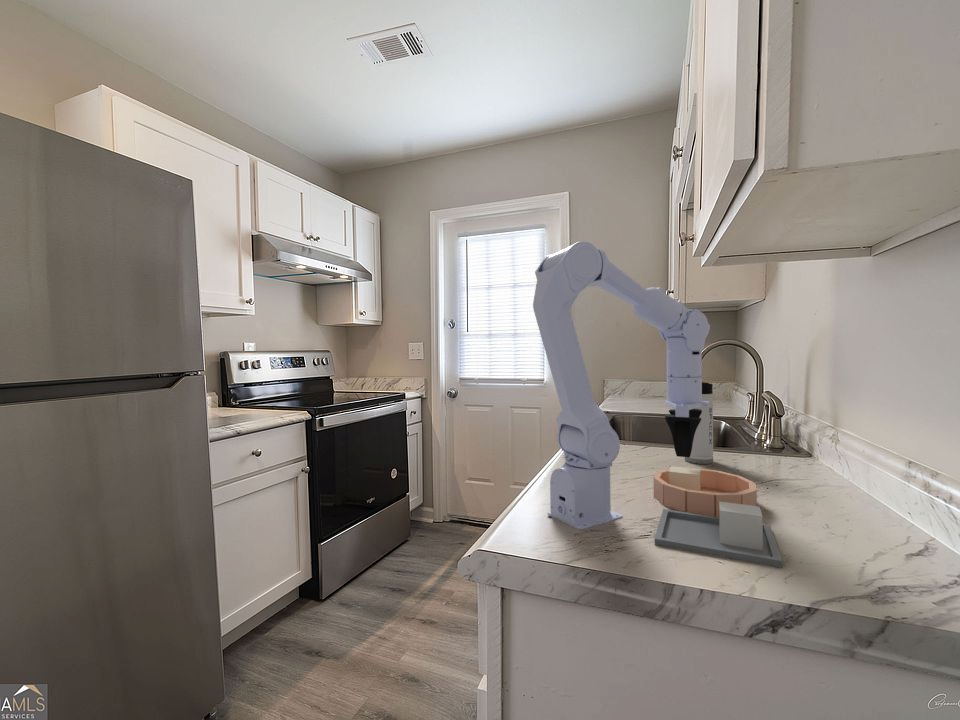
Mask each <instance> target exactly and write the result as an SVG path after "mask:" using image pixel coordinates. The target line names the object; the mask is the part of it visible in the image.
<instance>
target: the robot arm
mask: <svg viewBox="0 0 960 720" xmlns="http://www.w3.org/2000/svg"><path fill="white" fill-rule="evenodd" d="M534 274H535V277H536V285H535V289H534V290H535V291H534V296H533V301H532V308H533V313H534V316H535V321H536V323H537V326H538V329H539V330H538V331H539V333H540V337H541V340H542V344H543V348H544V351H545V355H546V358H547V362H548V365H549V369H550V372H551V377H552V379H553V382H554V386H555V389H556V393H557V398H558V401H559V404H560V407H561V411H560V412H559V414H558V415H557V416H556V422H557V428H558V429H557V439H556V440H557V444H558V446H559V448H560V449H561V450H562V452H564V453H563V455H564V457H563V458H564V464H563V465H561V466H560V467H557V468H556V469H554V470H553V471H552V473H551V475H550V478H549V483H550V485H549V486H550V489H549V491H550V494H549V495H550V496H549V498H550V504H549V505H550V511H549V510H548V511H547V515H548V516H550V517H552V518H555V519H557V520H559V521H561V522H563V523H565V524H567V525H569V526H571V527H573V528H575V529H576V530H585V529H589V528H592V527H595V526H598V525H602V524H605V523H608V522H612V521H616V520H620V519H623V514H620V513H618V512H616V511H613V510H611V506H612V505H611V503H612V502H611V467H613V462H614V461H615V460H616V458H617V457H618V455H619V452H620V448H621V443H620V437H619V435H618V433H617V432H616V431H615V429H613V427H612V426H611V424H610V420H609V418H608V416H607V414H606V413H605V412H604V411H603V410H602V408H600V407H599V406H598V405H597V402H596V401H595V398H594V393H593V391H592V386H591V383H590V379H589V375H588V371H587V368H586V364H585V361H584V356H583V354H582V350H581V346H580V342H579V339H578V335H577V331H576V328H575V325H574V321H573V317H572V313H571V308H572V306H573V304H574V303H575V301H576V299H577V298H578V297H579V295H580V294H581V292H583V290H585V289H586V288H587V287H598V288H600V289H602V290H604V291H605V292H608V293H609V294H611V295H613V296H615V297H616V298H618V299H620V300H621V301H624V302H626V303H627V304H629V305H631V306H632V311H633V314H634V316H635V317H638V318H639V319H640V320H642V321H644V322H646V323H647V324H649V325H650V326H652V327H654V328H655V329H656V330H658V333H659V336H660V337H661V339H662V340H663V341H666V400H665V405H666V406H668V407H670V409H669V410H668V413H669V414H665V415H664V419H665V422H666V423H667V425H668V428H669V430H670V433H671V437H672V441H673V442H672V443H673V448H674V452H675V455H676V457H680V458H685V457H690V455H691V451H692V445H693V439H694V435H695V432H696V429H697V427H698V425H699V423H700V421H701V418H699V417H700V415H701V413H702V410H701V409H694V408H698V407H702V406H709V402H708V401H702V382H703V378H702V375H703V372H702V371H703V369H702V368H703V367H702V364H703V363H702V361H703V360H702V357H703V356H702V355H703V354H702V353H703V350H704V348H705V347H706V345H705V344H706V343H705V341H706V338H707V336H708V335H709V333H710V329H711V324H710V323H709V321H708V318H707V316H706V315H705V313H703V312H702V311H700V310H699V309H697V308H690V309H688V308H687V307H686V306H685V304H684V303H683V302H682V301H677V300H675V299H674V298H673V297H671V296H670V295H669V294H667V293H666V290H665V288H663V287H661V286H660V287H659V286H658V287H656V286H653V287H651V286H650V287H647V288H645V287H644V286H643V285H642V284H640V283H638V282H637V281H636V280H635V279H633V278H632V277H631V276H629V275H628V274H627V273H625V272H624V271H623V270H622V269H620V268H619V267H618V266H616V265H615V264H614V263H613V262H612V261H610V260H609V258H608V256H607V253H606V252H605V251H604V250H602V249H600V248H597V247H596V245H594V244H592V243H591V242H589V241H577V242H576V243H575V242H574V244H571V245H570V246H568V247H566V248H564V249H561V250H560V251H557V252H555V253H550V254H548V255H546V256H545V257H544V258H543V259H542V261H541V262H540V264H539V265H538V267H537V268H536V269H535V271H534ZM671 408H672V409H671Z"/></svg>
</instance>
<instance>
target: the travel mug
mask: <svg viewBox="0 0 960 720" xmlns="http://www.w3.org/2000/svg"><path fill="white" fill-rule="evenodd" d="M713 389H714V388H713V383H710V382H705V381H704V382H703V381H702V401H708V402H709V406H702V407H698V408H694V409H701V410H702V413H701V415H700V417H699V418H701V421H700V423H699V425H698V427H697V429H696V432H695V435H694V439H693V445H692V451H691V455H690V457H684V460H685V462H687V461H688V463H690V462H691V463H692V464H695V463H697V464H696V465H710V463H711V464H713V462H714V404H713V403H714V397H713V396H714V393H713ZM691 463H690V464H691Z"/></svg>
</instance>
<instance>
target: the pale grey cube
mask: <svg viewBox="0 0 960 720" xmlns="http://www.w3.org/2000/svg"><path fill="white" fill-rule="evenodd" d="M763 517H764V516H763V514H762V510H761V508H760V506H758V505H757V506H751V505H743V504H735V503H728V502H720V501H719V536H720V543H721V544H727V545H733V546H739V547H745V548H751V549H757V550H763V524H764V523H763V519H764V518H763Z"/></svg>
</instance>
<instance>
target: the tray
mask: <svg viewBox="0 0 960 720" xmlns="http://www.w3.org/2000/svg"><path fill="white" fill-rule="evenodd" d="M654 545H655V546H659V547H666V548H671V549H676V550H682V551H688V552H693V553H698V554H705V555H709V556H714V557H719V558H720V557H721V558H726V559H730V560H736V561H741V562H742V561H743V562H747V563H754V564H757V565H764V566H769V567H774V568H781V569H782V568H783V561H782V557H781V555H780V551H779V548H778V546H777V542H776V539H775V537H774V534H773V531H772V528H771V525H770V524H768V523H763V550H757V549H751V548H745V547H739V546H733V545H727V544H721V543H720V536H719V517H715V516H708V515H701V514H694V513H687V512H681V511H679V510H675V509H673V510H671V509H665V508H663V509H662V512H661V515H660V519H659V523H658V526H657V529H656V533H655V537H654Z"/></svg>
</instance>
